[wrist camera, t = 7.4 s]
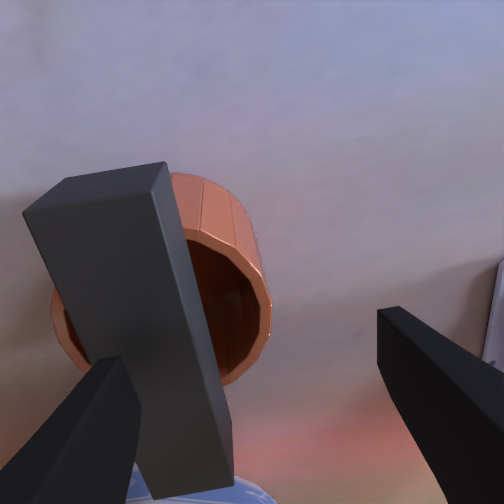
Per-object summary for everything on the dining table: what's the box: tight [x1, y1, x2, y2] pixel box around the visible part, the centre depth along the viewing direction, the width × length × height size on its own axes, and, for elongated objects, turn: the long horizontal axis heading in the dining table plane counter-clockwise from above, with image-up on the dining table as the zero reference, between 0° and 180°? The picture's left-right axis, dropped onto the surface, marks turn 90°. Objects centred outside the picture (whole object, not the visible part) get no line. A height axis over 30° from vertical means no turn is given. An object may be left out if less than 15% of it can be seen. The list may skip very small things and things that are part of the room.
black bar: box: [22, 161, 235, 500], centre depth 13 cm, size 12×3×3 cm, turn 8°
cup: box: [50, 173, 272, 387], centre depth 17 cm, size 8×8×6 cm
